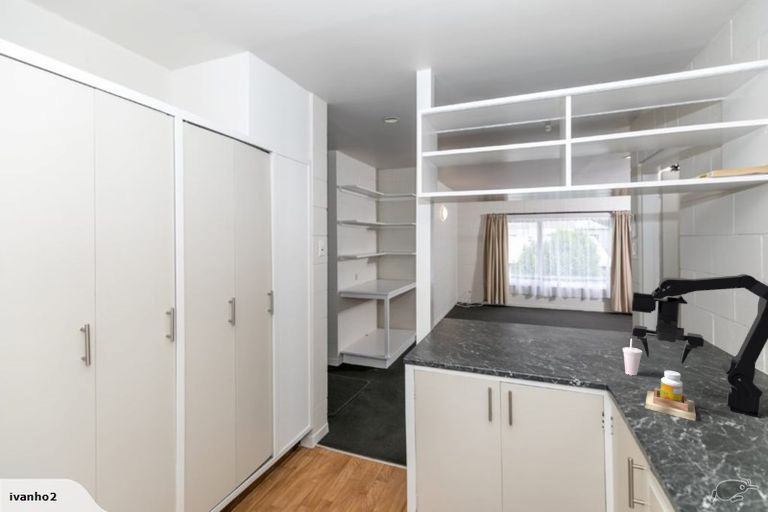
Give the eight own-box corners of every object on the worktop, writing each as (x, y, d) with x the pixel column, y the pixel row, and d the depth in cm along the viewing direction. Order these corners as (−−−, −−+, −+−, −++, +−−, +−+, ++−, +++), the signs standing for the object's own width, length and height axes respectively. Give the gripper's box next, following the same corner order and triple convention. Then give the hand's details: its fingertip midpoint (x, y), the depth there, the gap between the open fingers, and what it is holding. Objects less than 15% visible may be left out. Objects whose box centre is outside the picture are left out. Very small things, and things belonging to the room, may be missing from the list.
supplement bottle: (655, 398, 117) (657, 369, 116) (672, 398, 117) (674, 369, 116) (668, 406, 112) (670, 376, 111) (685, 406, 112) (688, 376, 111)
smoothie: (622, 369, 145) (624, 335, 144) (641, 373, 141) (644, 338, 140) (620, 374, 140) (622, 339, 139) (640, 378, 136) (642, 342, 135)
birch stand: (693, 405, 115) (694, 395, 115) (695, 421, 106) (696, 409, 106) (647, 394, 123) (648, 384, 123) (645, 408, 114) (646, 397, 113)
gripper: (632, 315, 121) (629, 360, 122) (706, 324, 109) (702, 374, 111) (635, 309, 130) (632, 351, 131) (704, 317, 118) (700, 364, 119)
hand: (664, 360), depth 123 cm, fingers open, 9 cm apart
